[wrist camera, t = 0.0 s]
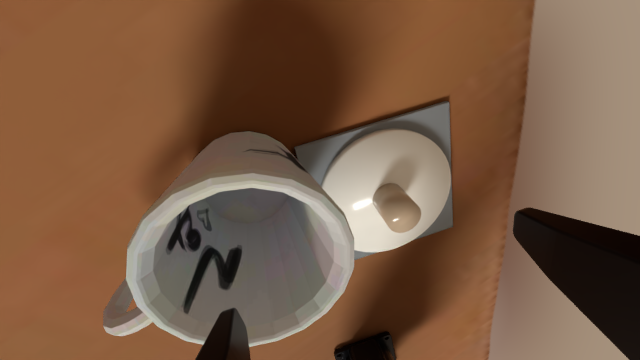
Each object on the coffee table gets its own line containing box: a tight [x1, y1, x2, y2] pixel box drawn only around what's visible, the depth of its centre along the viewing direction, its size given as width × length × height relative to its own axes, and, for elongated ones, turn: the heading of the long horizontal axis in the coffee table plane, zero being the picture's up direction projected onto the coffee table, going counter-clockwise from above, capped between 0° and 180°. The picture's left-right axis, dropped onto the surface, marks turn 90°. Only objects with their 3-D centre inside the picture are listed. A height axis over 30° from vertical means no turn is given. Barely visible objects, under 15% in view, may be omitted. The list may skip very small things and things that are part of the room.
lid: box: [321, 128, 451, 252], centre depth 24 cm, size 11×11×4 cm
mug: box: [103, 131, 354, 347], centre depth 19 cm, size 10×15×10 cm
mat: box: [294, 101, 453, 260], centre depth 26 cm, size 12×12×1 cm
